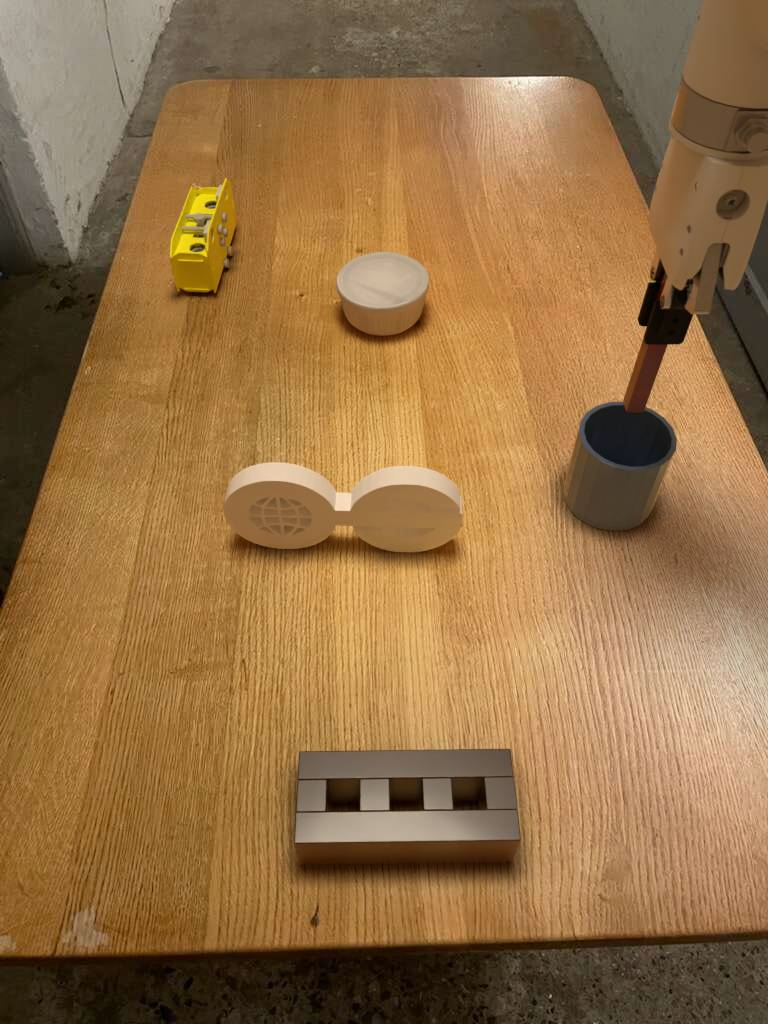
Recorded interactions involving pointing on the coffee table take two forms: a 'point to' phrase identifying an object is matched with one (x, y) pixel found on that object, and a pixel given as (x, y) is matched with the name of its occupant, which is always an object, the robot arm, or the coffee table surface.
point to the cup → (618, 466)
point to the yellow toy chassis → (203, 238)
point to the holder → (406, 832)
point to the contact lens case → (343, 507)
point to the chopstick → (645, 370)
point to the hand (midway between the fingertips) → (659, 331)
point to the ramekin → (382, 292)
